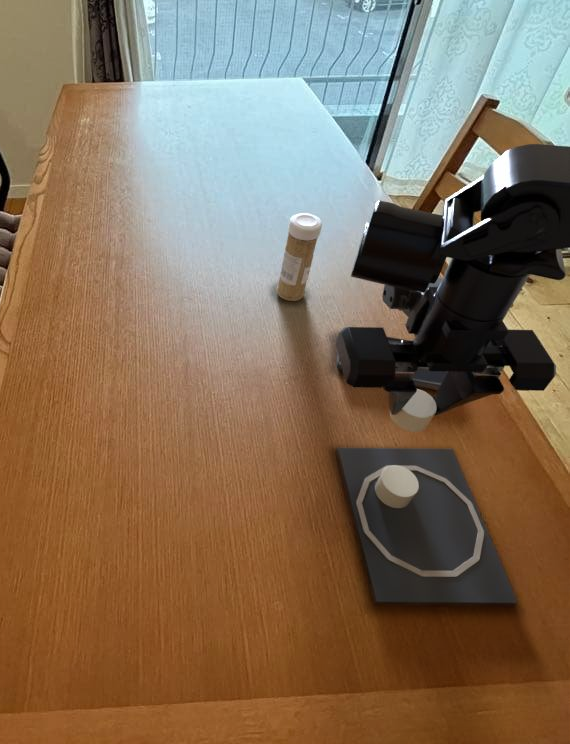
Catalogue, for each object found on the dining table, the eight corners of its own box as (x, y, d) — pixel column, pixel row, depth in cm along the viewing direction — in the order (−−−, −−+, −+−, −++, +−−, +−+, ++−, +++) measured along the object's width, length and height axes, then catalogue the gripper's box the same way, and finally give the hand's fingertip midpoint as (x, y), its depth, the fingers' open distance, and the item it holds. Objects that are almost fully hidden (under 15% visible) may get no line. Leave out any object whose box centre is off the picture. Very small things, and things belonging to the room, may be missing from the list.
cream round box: (421, 402, 61) (429, 388, 59) (433, 432, 58) (442, 418, 56) (385, 402, 61) (392, 387, 59) (395, 432, 58) (403, 417, 56)
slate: (449, 453, 68) (453, 448, 67) (513, 606, 55) (519, 602, 54) (335, 452, 68) (337, 447, 67) (373, 605, 55) (377, 601, 54)
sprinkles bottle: (309, 298, 88) (328, 226, 78) (284, 304, 86) (300, 232, 77) (295, 281, 91) (312, 209, 81) (270, 287, 89) (284, 214, 80)
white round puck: (405, 477, 64) (412, 465, 62) (416, 508, 61) (423, 497, 60) (370, 476, 64) (377, 464, 62) (380, 508, 61) (387, 496, 60)
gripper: (538, 245, 53) (472, 357, 64) (343, 242, 53) (311, 355, 64) (600, 325, 45) (513, 437, 56) (371, 322, 45) (329, 434, 56)
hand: (412, 411), depth 59 cm, fingers closed on cream round box, 4 cm apart
